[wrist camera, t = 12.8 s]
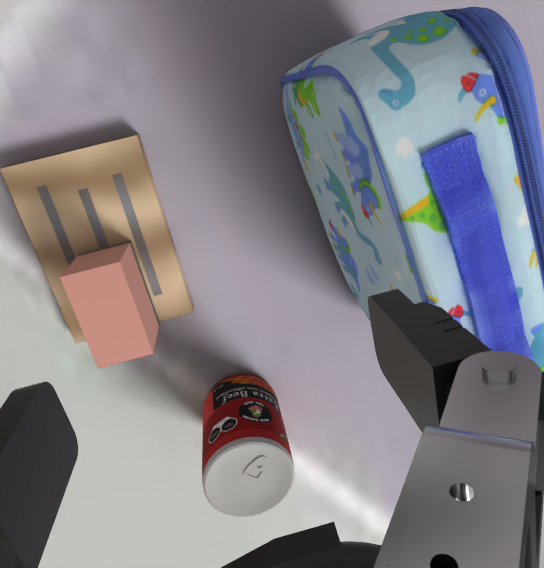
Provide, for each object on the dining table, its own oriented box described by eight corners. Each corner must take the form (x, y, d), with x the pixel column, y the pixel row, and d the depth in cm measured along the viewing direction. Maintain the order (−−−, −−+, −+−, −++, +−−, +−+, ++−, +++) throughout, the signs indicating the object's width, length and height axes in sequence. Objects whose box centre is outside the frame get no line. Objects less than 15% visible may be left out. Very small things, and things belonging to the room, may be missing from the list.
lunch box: (460, 290, 49) (630, 413, 29) (364, 334, 49) (468, 484, 30) (380, 23, 39) (552, -56, 20) (260, 80, 40) (315, 56, 20)
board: (7, 166, 39) (-1, 168, 38) (138, 134, 40) (136, 135, 38) (79, 336, 45) (75, 343, 44) (193, 306, 46) (193, 312, 44)
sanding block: (79, 253, 41) (59, 277, 35) (130, 240, 41) (119, 261, 36) (111, 335, 44) (98, 368, 38) (159, 322, 44) (153, 353, 39)
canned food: (285, 377, 50) (306, 448, 40) (265, 441, 52) (280, 523, 42) (212, 364, 48) (215, 435, 38) (195, 430, 51) (193, 513, 40)
